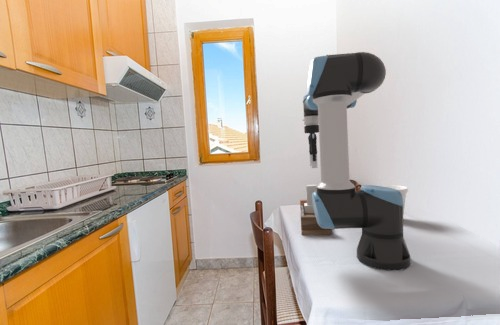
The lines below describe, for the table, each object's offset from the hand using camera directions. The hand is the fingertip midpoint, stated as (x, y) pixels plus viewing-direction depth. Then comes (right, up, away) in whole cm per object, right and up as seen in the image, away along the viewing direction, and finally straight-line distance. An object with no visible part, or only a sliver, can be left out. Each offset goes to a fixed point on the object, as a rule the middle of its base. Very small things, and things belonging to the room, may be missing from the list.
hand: (313, 166), depth 130 cm
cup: (+34, -25, -11) cm, 44 cm away
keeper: (0, -24, +3) cm, 24 cm away
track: (-2, -26, -7) cm, 27 cm away
